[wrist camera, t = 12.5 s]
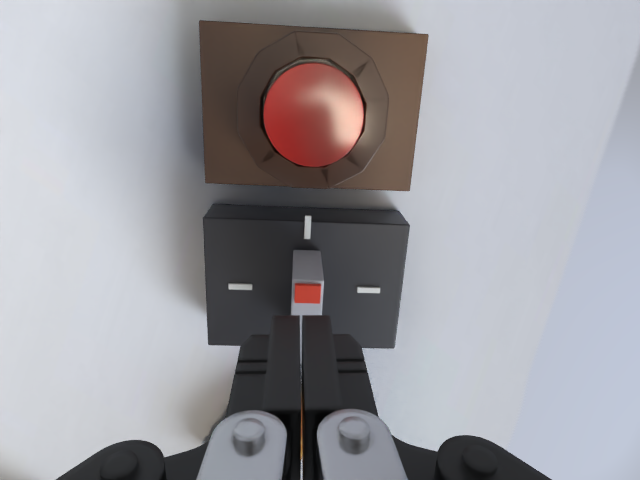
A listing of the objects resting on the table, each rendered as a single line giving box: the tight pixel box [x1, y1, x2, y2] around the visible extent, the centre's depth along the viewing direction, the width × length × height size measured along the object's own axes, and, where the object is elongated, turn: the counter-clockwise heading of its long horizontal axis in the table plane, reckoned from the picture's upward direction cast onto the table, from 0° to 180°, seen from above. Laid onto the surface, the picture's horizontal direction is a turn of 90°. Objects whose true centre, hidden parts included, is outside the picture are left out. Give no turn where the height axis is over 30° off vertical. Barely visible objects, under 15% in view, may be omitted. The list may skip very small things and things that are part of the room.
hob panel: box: [203, 204, 410, 348], centre depth 28 cm, size 12×9×3 cm
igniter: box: [199, 20, 428, 191], centre depth 24 cm, size 12×8×4 cm
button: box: [263, 63, 364, 167], centre depth 22 cm, size 5×5×2 cm
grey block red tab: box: [291, 250, 324, 361], centre depth 25 cm, size 5×2×4 cm, turn 177°
